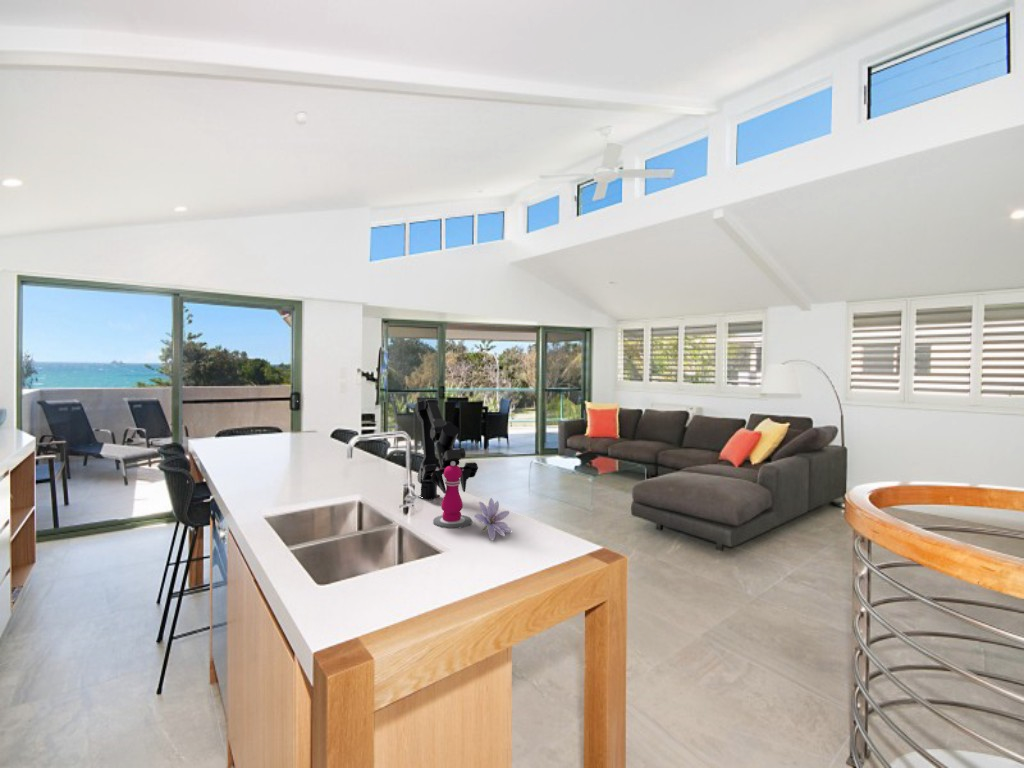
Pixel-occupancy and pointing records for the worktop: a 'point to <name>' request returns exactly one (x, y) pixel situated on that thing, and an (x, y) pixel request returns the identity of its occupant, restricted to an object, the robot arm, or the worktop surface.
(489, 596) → the worktop surface
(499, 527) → the water lily
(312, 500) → the worktop surface
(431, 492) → the robot arm
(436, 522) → the mat
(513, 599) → the worktop surface
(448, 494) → the pepper mill
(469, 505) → the worktop surface
